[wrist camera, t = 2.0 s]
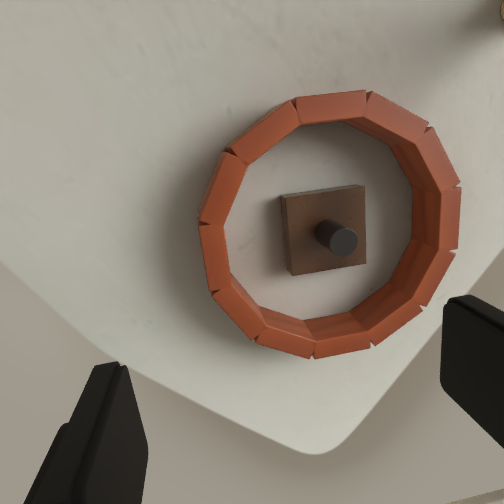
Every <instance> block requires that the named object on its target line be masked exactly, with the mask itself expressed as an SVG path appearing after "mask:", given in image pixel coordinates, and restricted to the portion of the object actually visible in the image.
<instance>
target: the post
mask: <svg viewBox="0 0 504 504" xmlns="http://www.w3.org/2000/svg"><path fill="white" fill-rule="evenodd" d="M281 207H282V218H283V229H284V240H285V251H286V262H287V270H288V271H289V272H290V274H291V275H292V276H295V275H301V274H307V273H313V272H319V271H325V270H331V269H336V268H342V267H348V266H354V265H360V264H366V227H365V187H364V186H360V185H349V186H342V187H335V188H328V189H321V190H314V191H307V192H300V193H293V194H286V195H281Z"/></svg>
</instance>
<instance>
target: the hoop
mask: <svg viewBox="0 0 504 504" xmlns="http://www.w3.org/2000/svg"><path fill="white" fill-rule="evenodd" d="M338 121H343V122H345V123H347V124H349V125H351V126H353V127H355V128H357V129H359V130H361V131H363V132H365V133H367V134H369V135H371V136H373V137H375V138H377V139H379V140H381V141H382V142H384V143H386V144H388V145H389V146H390V148H391V150H392V152H393V153H394V155H395V157H396V159H397V161H398V162H399V164H400V166H401V168H402V170H403V171H404V173H405V175H406V177H407V178H408V180H409V182H410V184H411V186H412V187H413V210H412V239H411V241H410V243H409V245H408V247H407V249H406V251H405V252H404V254H403V256H402V258H401V260H400V262H399V264H398V266H397V268H396V269H395V271H394V273H393V275H392V277H391V279H390V281H389V283H387V284H386V285H385V286H383V287H382V288H380V289H379V290H378V291H376V292H375V293H374V294H372V295H371V296H370V297H368V298H367V299H366V300H364V301H363V302H362V303H360V304H359V305H358V306H356V307H355V308H354V309H352V310H351V311H350V312H347V313H341V314H336V315H331V316H325V317H320V318H315V319H309V320H304V321H302V320H299V319H296V318H293V317H290V316H287V315H284V314H281V313H278V312H275V311H272V310H269V309H266V308H263V307H260V306H258V305H257V304H256V302H255V301H254V300H253V299H252V298H251V296H250V295H249V294H248V293H247V292H246V290H245V289H244V288H243V287H242V286H241V285H240V283H239V282H238V281H237V280H236V279H235V277H234V276H233V275H232V274H231V273H230V268H229V261H228V254H227V247H226V240H225V233H224V223H225V221H226V218H227V216H228V214H229V211H230V209H231V206H232V204H233V201H234V199H235V197H236V194H237V192H238V189H239V187H240V184H241V182H242V179H243V177H244V175H245V172H246V170H247V167H248V165H250V164H251V163H252V162H254V161H255V160H256V159H257V158H259V157H260V156H261V155H262V154H264V153H265V152H266V151H268V150H269V149H270V148H271V147H273V146H274V145H275V144H277V143H278V142H279V141H280V140H282V139H283V138H284V137H285V136H287V135H288V134H289V133H291V132H292V131H293V130H294V129H296V128H297V127H298V126H304V125H312V124H321V123H329V122H338ZM428 124H429V122H427V121H426V120H424V119H422V118H420V117H418V116H417V115H415V114H413V113H411V112H409V111H408V110H406V109H404V108H402V107H400V106H398V105H397V104H395V103H393V102H391V101H389V100H388V99H386V98H384V97H382V96H380V95H379V94H377V93H375V92H373V91H370V92H367V93H366V90H358V91H349V92H340V93H331V94H321V95H312V96H303V97H296V98H294V99H292V100H288V101H286V102H284V103H282V104H280V105H278V106H276V107H275V108H273V109H272V110H271V111H270V112H268V113H267V114H266V115H265V116H263V117H262V118H261V119H260V120H258V121H257V122H256V123H255V124H253V125H252V126H251V127H249V128H248V129H247V130H246V131H244V132H243V133H242V134H241V135H239V136H238V137H237V138H236V139H234V140H233V141H232V142H230V143H229V144H228V145H227V146H226V147H225V148H226V149H227V150H228V152H229V153H228V152H221V154H220V157H219V159H218V162H217V165H216V167H215V170H214V172H213V175H212V177H211V180H210V182H209V185H208V188H207V190H206V193H205V195H204V198H203V200H202V203H201V205H200V208H199V211H198V212H199V217H198V227H199V233H200V239H201V245H202V251H203V257H204V263H205V270H206V276H207V282H208V288H209V291H211V295H212V297H213V298H214V300H215V301H216V302H217V303H218V304H219V305H220V306H221V307H222V309H223V310H224V311H225V312H226V313H227V314H228V315H229V316H230V318H231V319H232V320H233V321H234V322H235V323H236V324H237V325H238V327H239V328H240V329H241V330H242V331H243V332H244V333H245V334H246V335H247V337H248V338H249V339H250V340H252V339H254V340H255V343H257V344H260V345H263V346H267V347H270V348H273V349H277V350H280V351H283V352H287V353H290V354H293V355H297V356H300V357H303V358H307V359H310V357H311V355H312V356H313V358H314V359H319V358H324V357H329V356H334V355H339V354H344V353H349V352H354V351H359V350H364V349H369V348H370V341H371V342H372V343H373V345H374V346H376V345H378V344H379V343H380V342H382V341H383V340H384V339H386V338H387V337H388V336H390V335H391V334H392V333H394V332H395V331H397V330H398V329H399V328H401V327H402V326H403V325H405V324H406V323H407V322H409V321H410V320H411V319H413V318H414V317H415V316H417V315H418V314H419V313H421V312H422V311H423V310H422V309H421V307H420V305H422V306H425V307H426V306H427V305H428V303H429V301H430V299H431V298H432V296H433V294H434V292H435V291H436V289H437V287H438V285H439V283H440V282H441V280H442V278H443V276H444V275H445V273H446V271H447V269H448V267H449V266H450V264H451V262H452V260H453V259H454V257H455V255H456V254H455V253H453V252H451V251H449V250H454V249H458V236H459V219H460V203H461V187H456V185H457V184H459V183H460V180H459V178H458V176H457V174H456V172H455V170H454V168H453V166H452V164H451V162H450V160H449V158H448V156H447V154H446V152H445V150H444V148H443V146H442V144H441V142H440V140H439V138H438V136H437V134H436V132H435V130H434V128H433V127H427V126H428Z"/></svg>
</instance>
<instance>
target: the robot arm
mask: <svg viewBox="0 0 504 504" xmlns="http://www.w3.org/2000/svg"><path fill="white" fill-rule="evenodd" d="M440 382H441V386H442V388H443V389H444V391H445V392H446V393H447V394H448V395H449V396H450V397H451V398H452V399H453V400H454V401H455V402H456V403H457V404H459V406H460V407H461V408H462V409H463V410H464V411H466V412H467V413H468V414H469V415H470V416H471V417H472V418H473V419H474V420H475V421H476V422H477V423H478V424H479V425H480V426H481V427H482V428H483V429H484V430H485V431H486V432H487V433H488V434H489V435H490V436H491V437H492V438H493V439H494V440H495V441H496V442H498V444H499V445H501V446H502V447H503V448H504V312H503V311H501V310H499V309H497V308H496V307H494V306H492V305H490V304H488V303H486V302H484V301H482V300H480V299H479V298H477V297H475V296H472V295H464V296H459V297H453V298H450V299H449V300H448V302H447V304H445V305H444V307H443V323H442V344H441V366H440ZM147 462H148V445H147V440H146V436H145V432H144V428H143V425H142V421H141V417H140V413H139V409H138V406H137V402H136V398H135V394H134V391H133V387H132V383H131V379H130V375H129V372H128V368H127V366H126V365H124V366H120V364H119V362H117V361H116V362H110V363H105V364H100V365H96V366H94V368H93V370H92V372H91V375H90V377H89V379H88V381H87V384H86V385H85V388H84V390H83V392H82V394H81V397H80V399H79V401H78V403H77V406H76V408H75V410H74V412H73V414H72V416H71V418H70V421H69V423H65V424H63V425H62V426H61V427H60V429H59V430H58V433H57V435H56V436H55V439H54V441H53V443H52V445H51V447H50V449H49V451H48V453H47V455H46V457H45V459H44V462H43V464H42V466H41V468H40V470H39V472H38V474H37V476H36V479H35V480H34V483H33V485H32V487H31V489H30V491H29V493H28V495H27V497H26V499H25V501H24V503H23V504H141V502H142V495H143V489H144V481H145V475H146V468H147ZM447 504H504V489H501V490H497V491H493V492H490V493H486V494H482V495H478V496H474V497H471V498H467V499H463V500H459V501H455V502H451V503H447Z"/></svg>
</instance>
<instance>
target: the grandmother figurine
mask: <svg viewBox="0 0 504 504" xmlns="http://www.w3.org/2000/svg"><path fill="white" fill-rule="evenodd" d="M501 16H502V18H503V20H504V2H503V4H502V6H501Z"/></svg>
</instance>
